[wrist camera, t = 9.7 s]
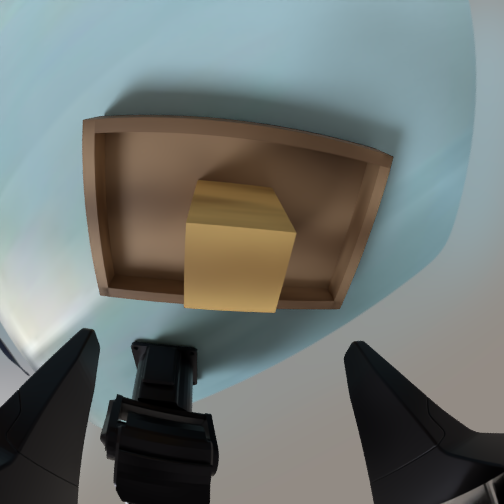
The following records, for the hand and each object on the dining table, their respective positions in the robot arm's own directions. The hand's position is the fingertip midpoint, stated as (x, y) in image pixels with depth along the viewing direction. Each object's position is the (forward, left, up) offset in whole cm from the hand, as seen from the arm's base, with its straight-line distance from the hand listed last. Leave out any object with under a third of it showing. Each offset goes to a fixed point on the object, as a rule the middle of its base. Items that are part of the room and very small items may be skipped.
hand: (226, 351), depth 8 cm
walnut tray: (0, 0, -11) cm, 11 cm away
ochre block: (0, 0, -10) cm, 10 cm away
